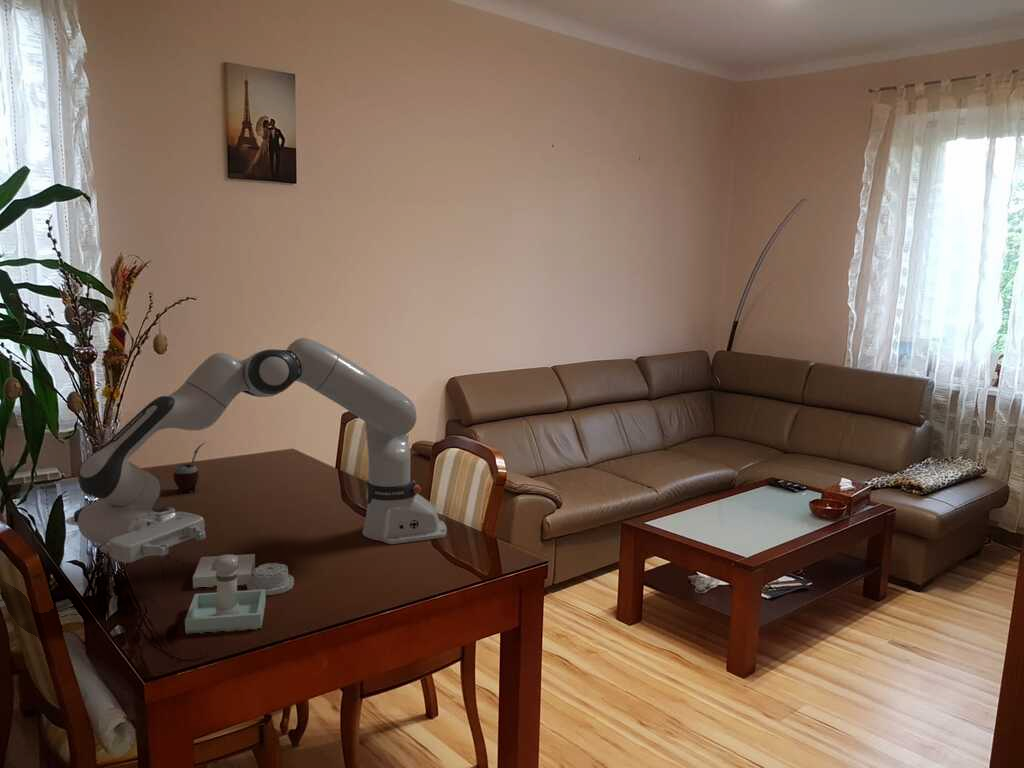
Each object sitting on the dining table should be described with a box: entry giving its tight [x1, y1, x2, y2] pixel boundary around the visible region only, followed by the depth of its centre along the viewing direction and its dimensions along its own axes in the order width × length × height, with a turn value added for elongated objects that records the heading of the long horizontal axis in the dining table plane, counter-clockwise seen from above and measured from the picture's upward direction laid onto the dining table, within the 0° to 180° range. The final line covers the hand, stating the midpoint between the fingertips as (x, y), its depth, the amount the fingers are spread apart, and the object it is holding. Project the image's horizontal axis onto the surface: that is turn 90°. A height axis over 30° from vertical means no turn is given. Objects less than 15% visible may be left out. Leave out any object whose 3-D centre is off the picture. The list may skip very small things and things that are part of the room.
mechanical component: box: [246, 562, 295, 596], centre depth 173 cm, size 10×4×10 cm
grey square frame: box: [192, 553, 256, 589], centre depth 178 cm, size 12×12×2 cm
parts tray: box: [184, 589, 267, 635], centre depth 157 cm, size 14×12×3 cm
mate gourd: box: [173, 442, 205, 494], centre depth 239 cm, size 8×8×15 cm
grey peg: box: [215, 554, 239, 616], centre depth 157 cm, size 4×4×12 cm
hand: (184, 543), depth 161 cm, fingers open, 8 cm apart
